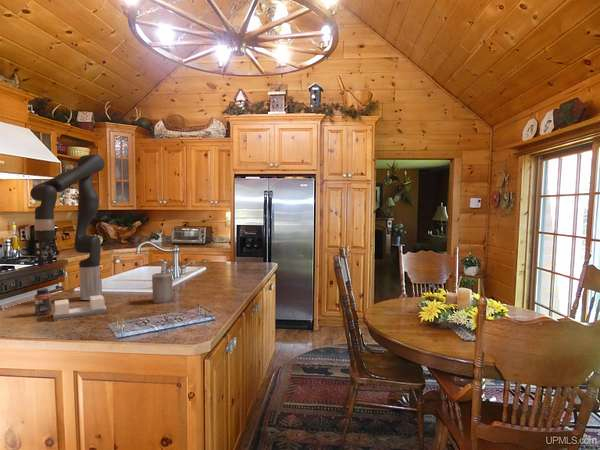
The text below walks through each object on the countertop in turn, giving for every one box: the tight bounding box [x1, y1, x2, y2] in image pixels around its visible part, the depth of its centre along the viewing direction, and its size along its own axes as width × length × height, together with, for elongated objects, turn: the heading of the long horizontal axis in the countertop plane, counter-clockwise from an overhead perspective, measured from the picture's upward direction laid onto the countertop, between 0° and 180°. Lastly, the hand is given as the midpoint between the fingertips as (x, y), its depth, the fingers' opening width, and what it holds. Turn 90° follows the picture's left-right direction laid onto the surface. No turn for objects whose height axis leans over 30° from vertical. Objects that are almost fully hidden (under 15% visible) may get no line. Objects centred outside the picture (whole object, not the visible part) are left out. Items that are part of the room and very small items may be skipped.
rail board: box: [52, 294, 108, 320], centre depth 160 cm, size 20×11×6 cm, turn 126°
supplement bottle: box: [34, 287, 53, 316], centre depth 160 cm, size 6×6×11 cm
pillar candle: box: [151, 271, 174, 304], centre depth 183 cm, size 10×10×15 cm
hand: (45, 264), depth 162 cm, fingers open, 8 cm apart
